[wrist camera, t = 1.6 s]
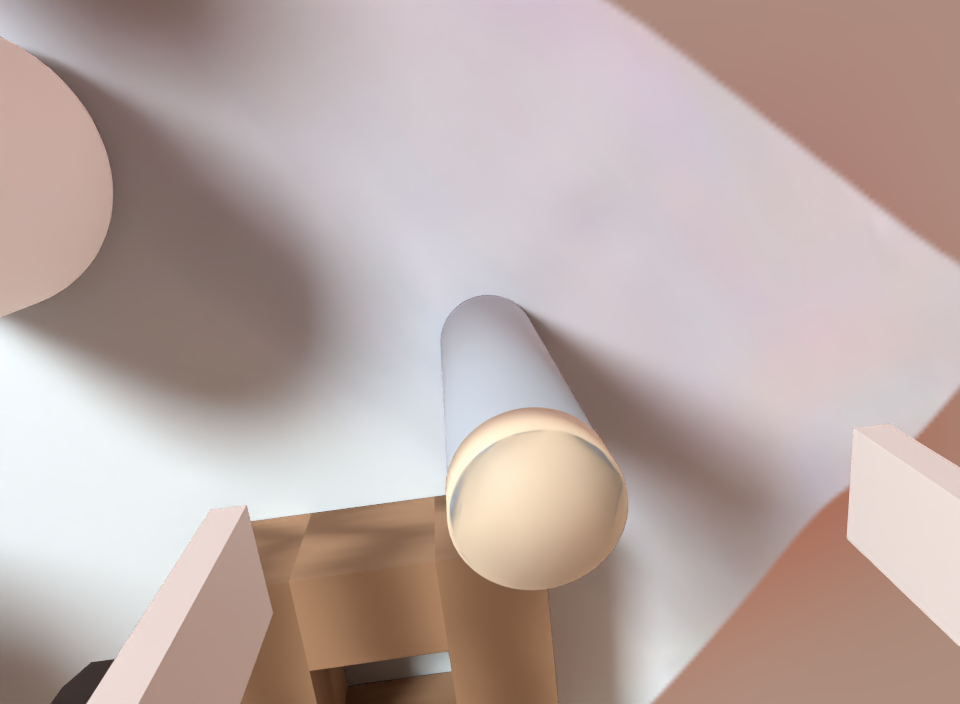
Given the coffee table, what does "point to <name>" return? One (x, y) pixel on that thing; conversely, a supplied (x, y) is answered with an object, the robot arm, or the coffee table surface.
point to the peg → (521, 455)
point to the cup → (46, 183)
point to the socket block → (392, 613)
